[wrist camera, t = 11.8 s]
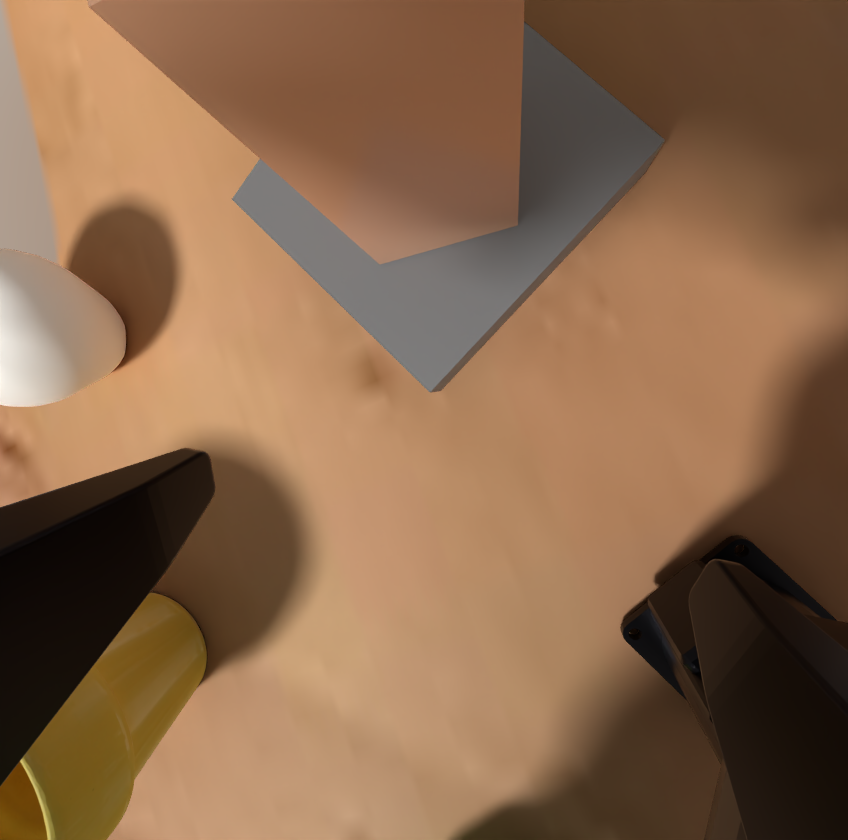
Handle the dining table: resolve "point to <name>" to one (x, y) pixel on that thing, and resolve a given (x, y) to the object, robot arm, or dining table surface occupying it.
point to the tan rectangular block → (358, 103)
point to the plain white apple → (52, 332)
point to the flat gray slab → (485, 255)
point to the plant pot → (106, 730)
